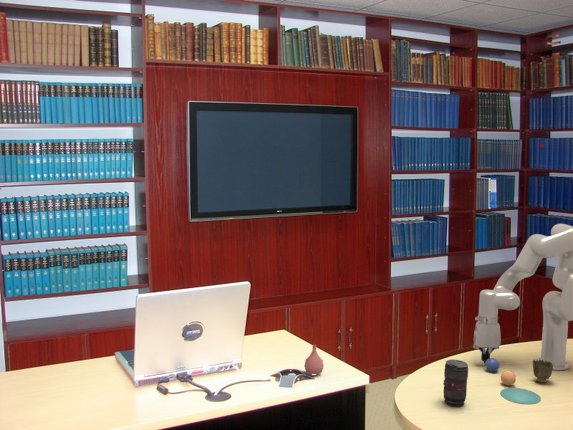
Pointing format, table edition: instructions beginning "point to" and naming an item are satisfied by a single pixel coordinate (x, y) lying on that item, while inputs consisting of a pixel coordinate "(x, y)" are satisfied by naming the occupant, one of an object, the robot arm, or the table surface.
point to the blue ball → (492, 364)
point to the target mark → (520, 396)
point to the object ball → (508, 378)
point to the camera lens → (455, 382)
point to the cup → (542, 370)
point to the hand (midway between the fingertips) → (485, 362)
